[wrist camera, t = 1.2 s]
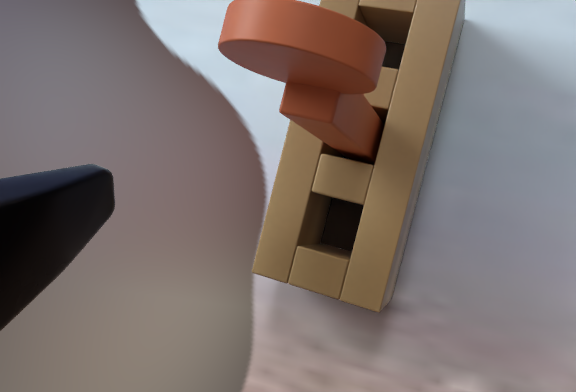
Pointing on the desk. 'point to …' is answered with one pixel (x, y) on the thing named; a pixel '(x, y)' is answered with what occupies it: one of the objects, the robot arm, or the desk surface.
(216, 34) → the desk surface
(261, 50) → the orange piece
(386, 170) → the utensil rack
